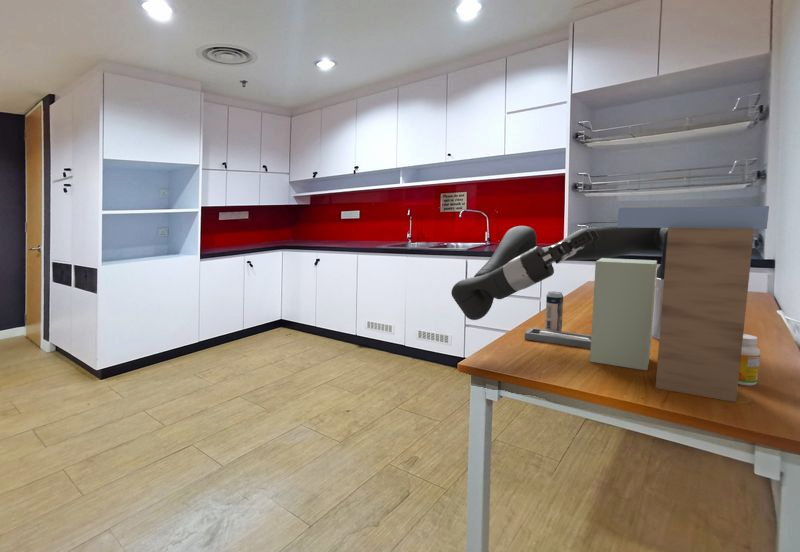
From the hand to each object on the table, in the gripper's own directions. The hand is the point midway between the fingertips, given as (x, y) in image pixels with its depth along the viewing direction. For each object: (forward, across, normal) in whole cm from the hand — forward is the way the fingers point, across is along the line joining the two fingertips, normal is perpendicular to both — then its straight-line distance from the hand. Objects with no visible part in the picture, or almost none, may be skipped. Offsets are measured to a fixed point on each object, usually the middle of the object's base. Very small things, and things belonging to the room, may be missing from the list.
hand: (594, 234), depth 95 cm
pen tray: (-23, -23, -22) cm, 39 cm away
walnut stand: (+2, -1, -36) cm, 36 cm away
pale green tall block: (-11, -13, -29) cm, 33 cm away
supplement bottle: (+9, -11, -41) cm, 43 cm away
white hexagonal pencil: (-23, -23, -22) cm, 39 cm away
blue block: (+15, -1, -7) cm, 17 cm away
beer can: (-28, -32, -19) cm, 46 cm away
